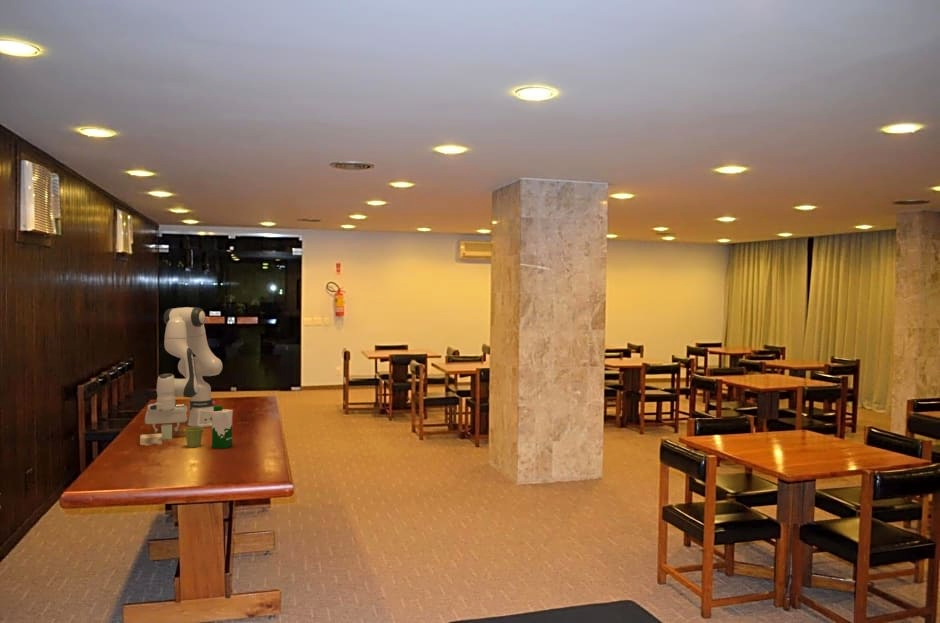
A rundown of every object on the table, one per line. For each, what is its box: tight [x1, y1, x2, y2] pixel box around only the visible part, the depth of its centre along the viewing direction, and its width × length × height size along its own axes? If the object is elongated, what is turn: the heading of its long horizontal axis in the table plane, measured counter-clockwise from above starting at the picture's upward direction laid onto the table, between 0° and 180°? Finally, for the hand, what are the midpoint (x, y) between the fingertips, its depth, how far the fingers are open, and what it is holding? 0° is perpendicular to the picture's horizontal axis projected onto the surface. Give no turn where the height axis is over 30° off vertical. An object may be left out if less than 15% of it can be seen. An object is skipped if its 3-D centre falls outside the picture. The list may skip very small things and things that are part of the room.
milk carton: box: [211, 405, 234, 450], centre depth 348 cm, size 9×9×20 cm
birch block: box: [139, 433, 163, 446], centre depth 358 cm, size 10×10×4 cm
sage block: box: [160, 423, 173, 440], centre depth 370 cm, size 5×5×7 cm
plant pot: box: [183, 426, 205, 448], centre depth 350 cm, size 9×9×9 cm
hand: (166, 431), depth 369 cm, fingers open, 8 cm apart
